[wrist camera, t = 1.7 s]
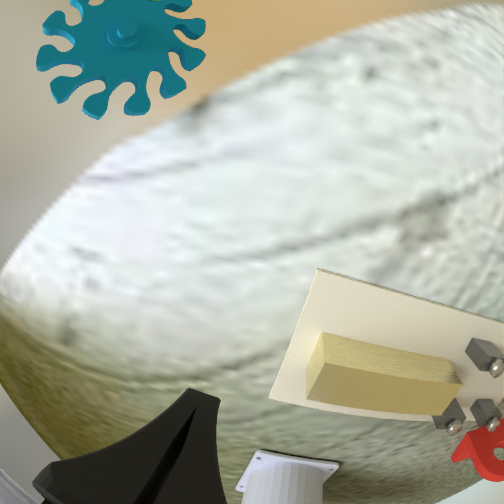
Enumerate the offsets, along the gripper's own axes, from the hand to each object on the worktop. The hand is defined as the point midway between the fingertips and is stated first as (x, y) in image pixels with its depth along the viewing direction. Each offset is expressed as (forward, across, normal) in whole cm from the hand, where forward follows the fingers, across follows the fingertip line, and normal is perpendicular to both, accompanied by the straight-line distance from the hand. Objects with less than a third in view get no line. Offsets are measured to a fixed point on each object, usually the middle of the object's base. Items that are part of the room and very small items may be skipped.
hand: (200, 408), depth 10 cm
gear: (+8, +10, -16) cm, 20 cm away
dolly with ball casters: (+7, -20, 0) cm, 22 cm away
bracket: (+8, -32, +8) cm, 34 cm away
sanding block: (+7, -10, 0) cm, 12 cm away
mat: (+8, -15, 0) cm, 17 cm away
